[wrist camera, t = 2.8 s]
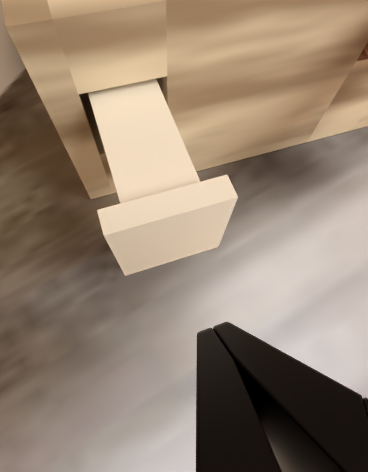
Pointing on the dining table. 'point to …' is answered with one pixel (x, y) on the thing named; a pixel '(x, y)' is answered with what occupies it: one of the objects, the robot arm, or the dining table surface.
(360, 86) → the socket block
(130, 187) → the cream plug
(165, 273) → the dining table surface
